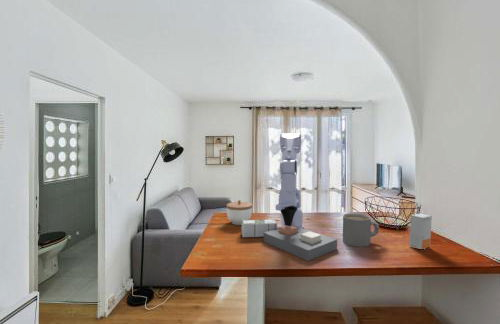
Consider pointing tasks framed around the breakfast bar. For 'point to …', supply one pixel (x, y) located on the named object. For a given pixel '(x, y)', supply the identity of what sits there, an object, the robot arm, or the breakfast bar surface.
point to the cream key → (310, 237)
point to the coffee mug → (358, 229)
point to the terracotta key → (288, 230)
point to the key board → (300, 243)
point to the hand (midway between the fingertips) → (288, 225)
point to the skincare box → (420, 231)
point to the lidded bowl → (239, 211)
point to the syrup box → (257, 227)
